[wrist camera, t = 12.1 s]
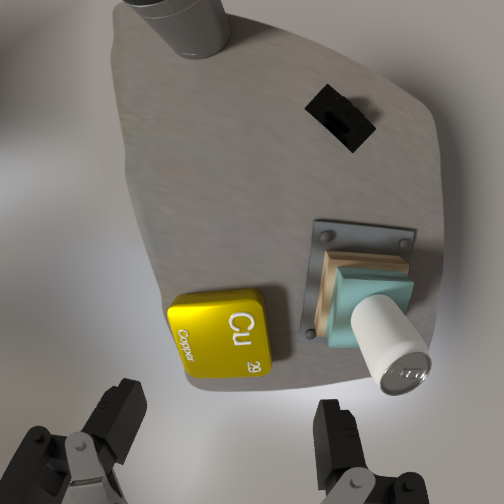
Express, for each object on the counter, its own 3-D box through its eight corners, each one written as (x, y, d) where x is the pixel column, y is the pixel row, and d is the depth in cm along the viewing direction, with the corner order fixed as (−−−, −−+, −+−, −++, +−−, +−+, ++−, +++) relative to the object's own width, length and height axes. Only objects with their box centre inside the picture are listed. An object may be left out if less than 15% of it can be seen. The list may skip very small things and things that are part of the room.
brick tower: (313, 220, 39) (324, 235, 30) (411, 230, 38) (440, 246, 29) (297, 339, 45) (301, 374, 36) (384, 340, 44) (401, 371, 35)
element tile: (172, 293, 45) (161, 307, 40) (262, 285, 43) (260, 299, 38) (193, 364, 49) (187, 380, 44) (273, 360, 47) (272, 378, 42)
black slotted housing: (384, 132, 35) (396, 129, 30) (354, 166, 37) (364, 166, 32) (321, 74, 33) (327, 64, 29) (289, 107, 35) (291, 99, 31)
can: (362, 287, 32) (398, 344, 20) (403, 299, 32) (446, 353, 20) (341, 330, 34) (363, 396, 22) (381, 339, 34) (412, 400, 22)
